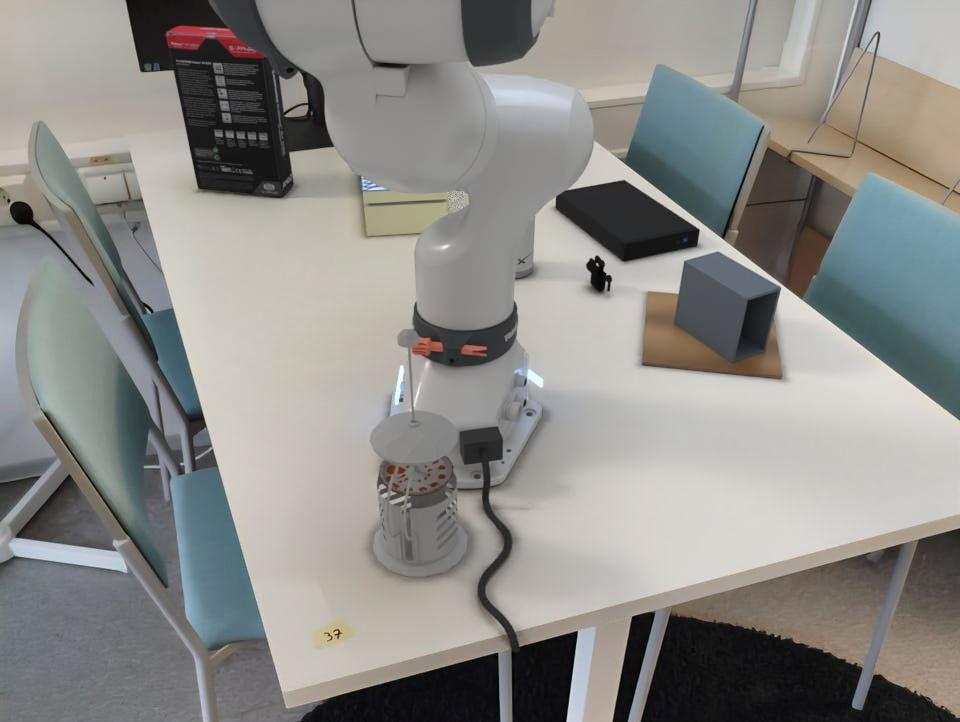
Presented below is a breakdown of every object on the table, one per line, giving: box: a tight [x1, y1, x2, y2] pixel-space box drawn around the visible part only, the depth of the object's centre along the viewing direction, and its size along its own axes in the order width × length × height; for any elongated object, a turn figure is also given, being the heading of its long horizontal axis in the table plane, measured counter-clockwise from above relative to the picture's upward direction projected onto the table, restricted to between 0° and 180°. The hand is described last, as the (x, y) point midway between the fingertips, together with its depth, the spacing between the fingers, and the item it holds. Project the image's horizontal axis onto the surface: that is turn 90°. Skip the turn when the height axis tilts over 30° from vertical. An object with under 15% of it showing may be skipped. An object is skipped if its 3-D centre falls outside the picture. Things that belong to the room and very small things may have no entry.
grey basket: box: [674, 250, 782, 363], centre depth 116 cm, size 12×6×10 cm, turn 29°
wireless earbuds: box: [585, 254, 613, 293], centre depth 129 cm, size 7×2×5 cm, turn 21°
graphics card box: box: [165, 25, 295, 198], centre depth 152 cm, size 17×7×27 cm, turn 80°
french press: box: [369, 328, 469, 578], centre depth 80 cm, size 10×12×25 cm
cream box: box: [357, 175, 449, 237], centre depth 160 cm, size 45×15×10 cm, turn 8°
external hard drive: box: [554, 179, 701, 262], centre depth 147 cm, size 14×23×3 cm, turn 24°
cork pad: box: [641, 290, 783, 380], centre depth 121 cm, size 20×18×1 cm
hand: (506, 12), depth 99 cm, fingers open, 8 cm apart
